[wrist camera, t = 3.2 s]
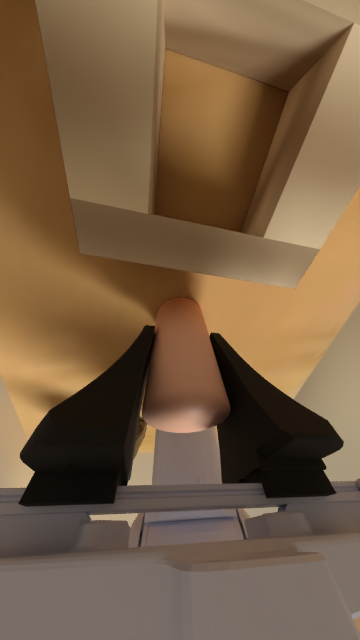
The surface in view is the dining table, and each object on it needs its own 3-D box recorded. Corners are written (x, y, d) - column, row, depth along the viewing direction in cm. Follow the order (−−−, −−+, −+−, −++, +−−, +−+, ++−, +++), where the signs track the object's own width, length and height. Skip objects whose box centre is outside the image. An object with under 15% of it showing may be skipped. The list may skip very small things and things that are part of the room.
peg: (196, 337, 15) (215, 433, 8) (155, 332, 14) (140, 431, 8) (207, 300, 13) (245, 392, 6) (159, 294, 12) (144, 386, 6)
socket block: (269, 273, 12) (295, 288, 9) (102, 244, 10) (79, 253, 8) (391, 26, 6) (538, -101, 4) (67, -121, 5) (-56, -515, 2)
